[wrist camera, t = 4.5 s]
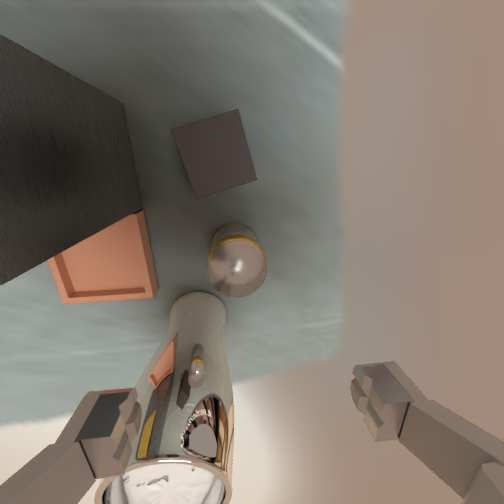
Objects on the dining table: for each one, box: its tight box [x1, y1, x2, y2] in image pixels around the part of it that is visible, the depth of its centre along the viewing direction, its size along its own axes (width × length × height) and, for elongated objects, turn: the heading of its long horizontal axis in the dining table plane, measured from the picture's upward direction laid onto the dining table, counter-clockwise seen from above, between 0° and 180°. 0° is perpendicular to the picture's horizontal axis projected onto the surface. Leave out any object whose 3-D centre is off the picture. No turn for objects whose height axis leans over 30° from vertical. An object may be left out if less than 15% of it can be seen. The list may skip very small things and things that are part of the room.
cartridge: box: [207, 223, 267, 297], centre depth 20 cm, size 5×5×6 cm
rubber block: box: [171, 109, 257, 198], centre depth 18 cm, size 4×4×5 cm
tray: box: [47, 210, 158, 304], centre depth 21 cm, size 8×8×2 cm
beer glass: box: [95, 292, 234, 504], centre depth 18 cm, size 7×7×15 cm
